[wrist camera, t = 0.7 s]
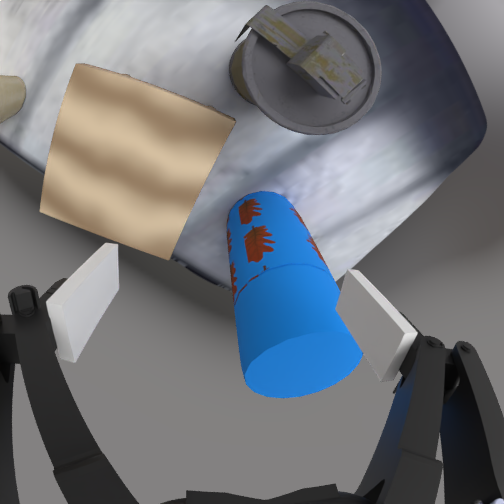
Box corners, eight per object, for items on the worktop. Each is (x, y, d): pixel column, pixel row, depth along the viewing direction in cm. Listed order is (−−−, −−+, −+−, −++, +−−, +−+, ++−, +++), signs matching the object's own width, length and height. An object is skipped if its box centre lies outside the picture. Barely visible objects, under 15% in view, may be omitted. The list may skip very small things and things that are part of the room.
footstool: (116, 64, 27) (76, 63, 17) (229, 107, 33) (236, 121, 23) (79, 172, 34) (39, 211, 25) (178, 210, 40) (168, 260, 30)
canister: (327, 69, 31) (425, 78, 15) (275, 123, 35) (332, 175, 18) (264, 15, 26) (317, -39, 10) (208, 72, 30) (202, 67, 14)
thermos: (222, 251, 45) (236, 401, 25) (228, 187, 39) (250, 333, 19) (290, 254, 47) (340, 391, 27) (304, 193, 41) (385, 324, 21)
